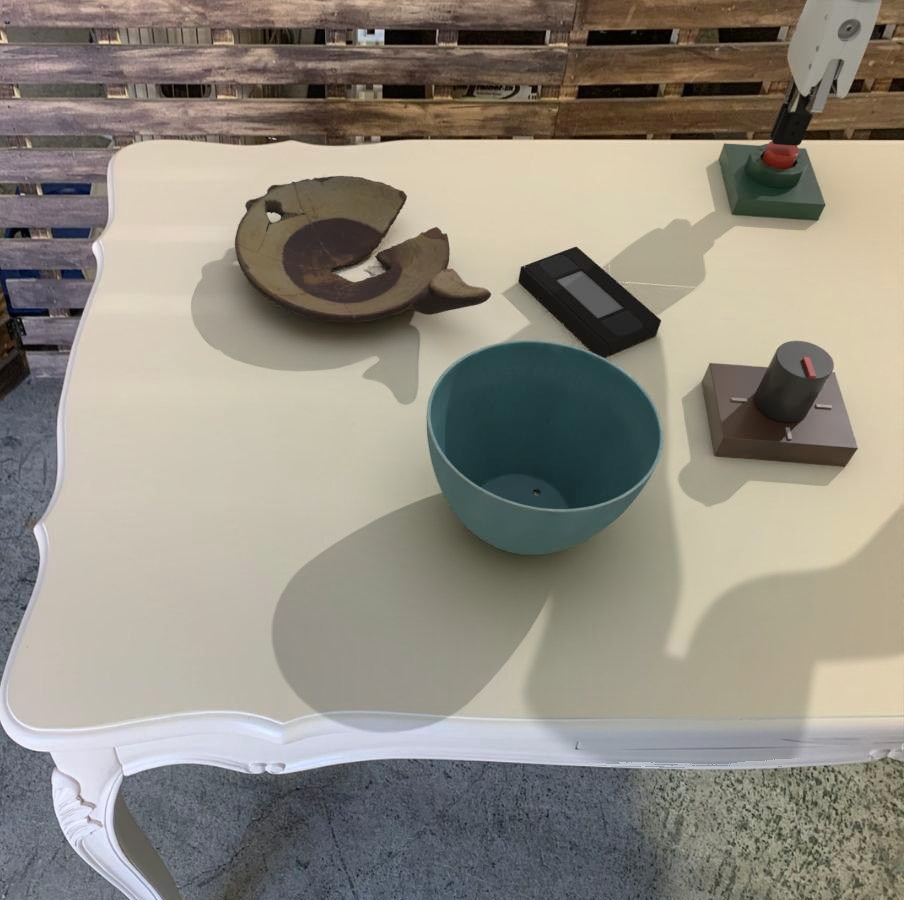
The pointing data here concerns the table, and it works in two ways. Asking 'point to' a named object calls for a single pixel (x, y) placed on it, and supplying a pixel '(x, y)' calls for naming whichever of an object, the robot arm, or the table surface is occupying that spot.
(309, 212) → the broken bowl
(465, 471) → the plant pot
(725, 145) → the button box
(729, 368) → the panel
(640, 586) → the table surface
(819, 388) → the knob
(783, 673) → the table surface
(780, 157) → the button
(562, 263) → the vhs tape
